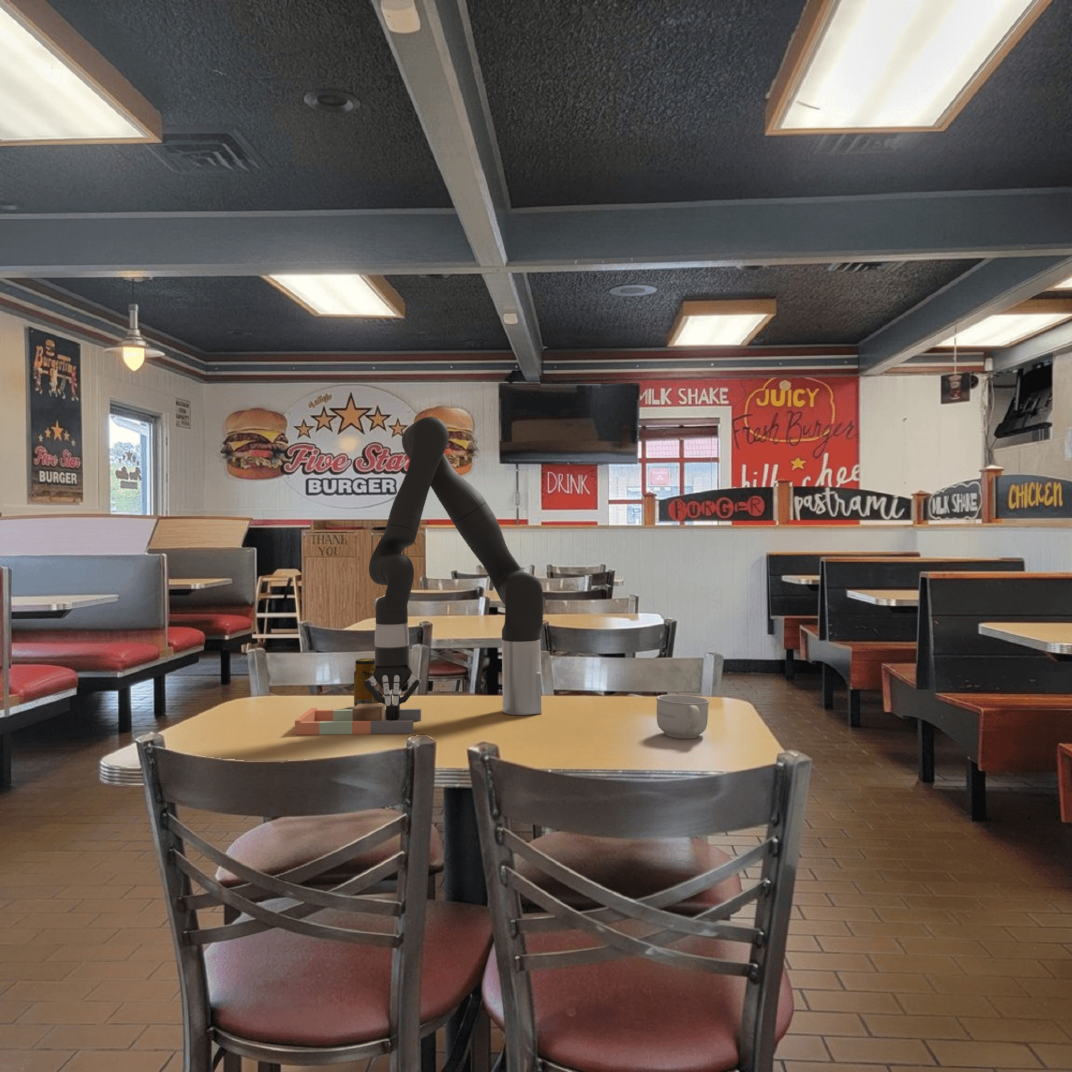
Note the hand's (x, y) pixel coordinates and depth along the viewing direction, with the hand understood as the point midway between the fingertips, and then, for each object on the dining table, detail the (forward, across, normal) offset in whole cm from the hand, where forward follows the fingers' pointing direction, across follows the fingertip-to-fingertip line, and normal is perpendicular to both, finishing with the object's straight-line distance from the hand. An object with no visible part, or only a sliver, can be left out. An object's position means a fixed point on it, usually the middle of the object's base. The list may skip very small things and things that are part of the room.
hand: (392, 721), depth 189 cm
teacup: (+1, -62, +13) cm, 64 cm away
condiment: (+1, +10, -20) cm, 22 cm away
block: (+1, +5, -1) cm, 6 cm away
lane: (+1, +7, 0) cm, 7 cm away
